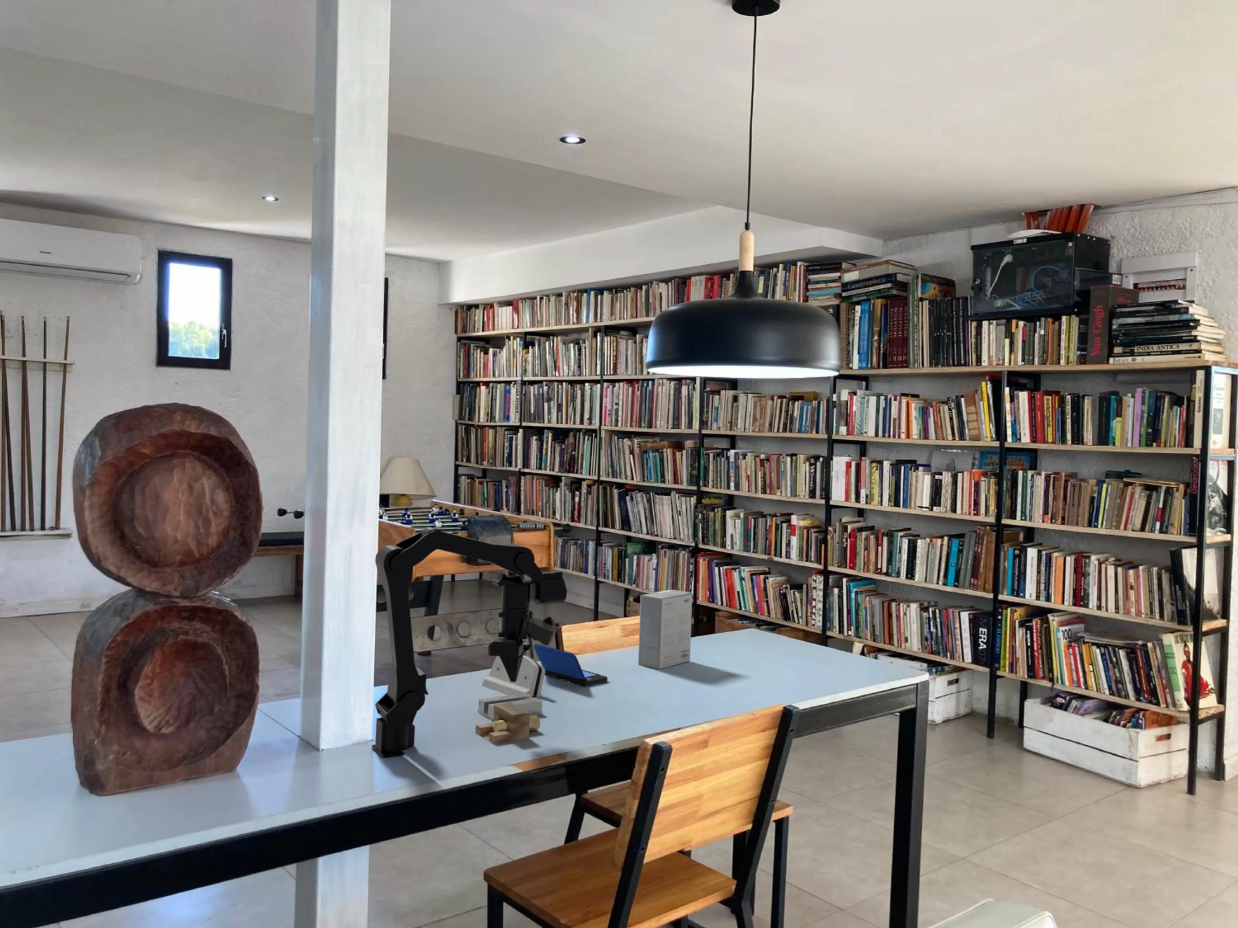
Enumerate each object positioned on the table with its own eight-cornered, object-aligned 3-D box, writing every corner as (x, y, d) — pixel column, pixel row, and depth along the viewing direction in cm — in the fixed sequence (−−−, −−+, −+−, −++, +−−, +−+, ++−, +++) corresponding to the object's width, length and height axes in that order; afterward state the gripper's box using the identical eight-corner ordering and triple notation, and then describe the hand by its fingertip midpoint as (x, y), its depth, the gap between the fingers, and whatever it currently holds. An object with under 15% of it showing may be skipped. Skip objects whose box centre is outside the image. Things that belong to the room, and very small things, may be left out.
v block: (494, 724, 198) (495, 707, 198) (477, 714, 204) (478, 698, 204) (542, 717, 205) (543, 701, 205) (524, 708, 211) (525, 692, 211)
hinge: (480, 685, 229) (493, 645, 231) (494, 688, 232) (507, 650, 234) (524, 700, 217) (537, 659, 220) (538, 704, 221) (550, 663, 223)
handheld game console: (609, 682, 239) (611, 647, 239) (572, 691, 229) (574, 653, 229) (567, 670, 250) (569, 636, 249) (530, 677, 240) (532, 642, 240)
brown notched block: (493, 747, 183) (495, 717, 183) (475, 735, 190) (476, 706, 189) (528, 741, 188) (530, 712, 188) (509, 730, 194) (511, 702, 194)
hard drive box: (669, 656, 271) (672, 589, 271) (690, 661, 266) (694, 592, 266) (636, 664, 259) (640, 593, 259) (658, 669, 254) (662, 597, 254)
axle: (497, 737, 186) (497, 722, 186) (490, 734, 189) (490, 719, 189) (539, 731, 192) (540, 716, 192) (532, 727, 195) (533, 713, 195)
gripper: (544, 616, 179) (541, 696, 179) (563, 600, 197) (561, 672, 198) (488, 613, 180) (486, 692, 181) (512, 597, 199) (510, 669, 199)
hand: (513, 681), depth 189 cm, fingers closed
